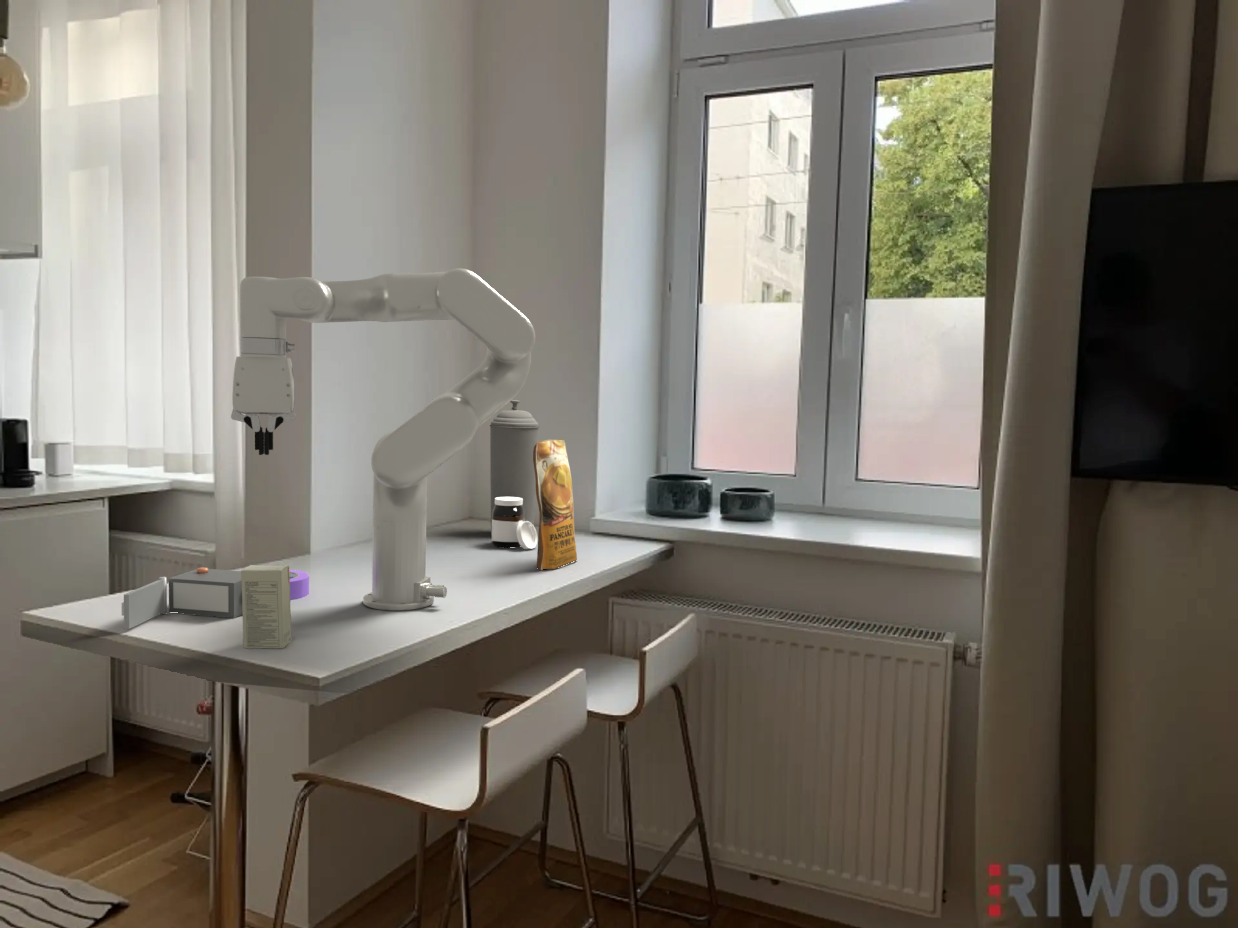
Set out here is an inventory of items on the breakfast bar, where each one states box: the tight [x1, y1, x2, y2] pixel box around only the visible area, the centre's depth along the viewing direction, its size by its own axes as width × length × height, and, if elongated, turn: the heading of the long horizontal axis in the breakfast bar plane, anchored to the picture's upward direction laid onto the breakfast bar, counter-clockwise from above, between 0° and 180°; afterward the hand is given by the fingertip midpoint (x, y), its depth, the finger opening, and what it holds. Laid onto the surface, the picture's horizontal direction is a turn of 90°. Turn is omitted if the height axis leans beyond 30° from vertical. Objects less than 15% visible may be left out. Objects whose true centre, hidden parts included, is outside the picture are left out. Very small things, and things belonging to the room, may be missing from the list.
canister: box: [489, 399, 540, 534], centre depth 257 cm, size 13×13×35 cm
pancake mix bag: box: [533, 438, 578, 571], centre depth 221 cm, size 7×19×28 cm, turn 156°
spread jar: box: [491, 497, 538, 550], centre depth 241 cm, size 12×11×12 cm
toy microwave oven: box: [168, 566, 243, 619], centre depth 172 cm, size 13×9×7 cm
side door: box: [121, 576, 168, 630], centre depth 163 cm, size 12×2×6 cm, turn 178°
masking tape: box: [289, 569, 310, 601], centre depth 185 cm, size 12×12×4 cm
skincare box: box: [240, 564, 292, 649], centre depth 152 cm, size 6×4×12 cm
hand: (264, 454), depth 175 cm, fingers closed
